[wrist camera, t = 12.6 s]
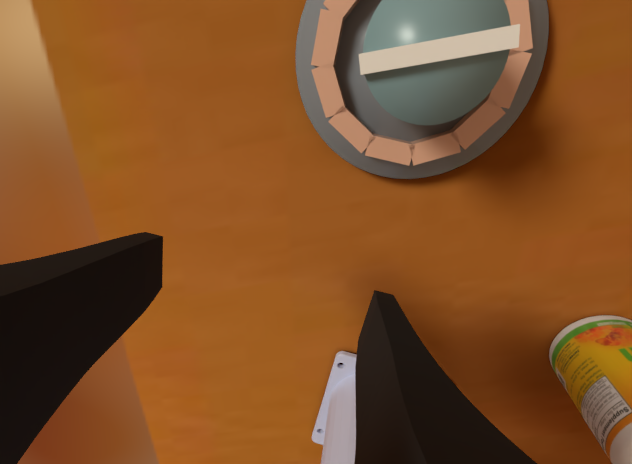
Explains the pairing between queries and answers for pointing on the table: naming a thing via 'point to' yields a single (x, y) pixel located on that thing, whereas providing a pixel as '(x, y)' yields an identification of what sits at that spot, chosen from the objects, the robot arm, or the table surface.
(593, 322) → the supplement bottle
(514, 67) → the socket
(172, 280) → the table surface
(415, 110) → the cylinder with tan strip
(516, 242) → the table surface
